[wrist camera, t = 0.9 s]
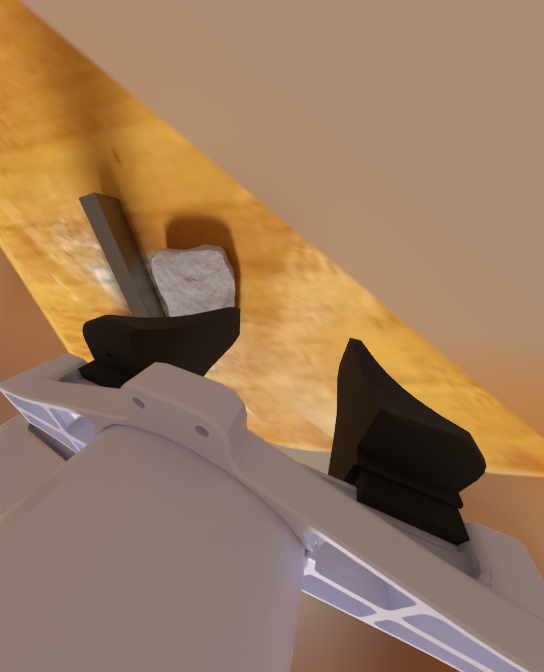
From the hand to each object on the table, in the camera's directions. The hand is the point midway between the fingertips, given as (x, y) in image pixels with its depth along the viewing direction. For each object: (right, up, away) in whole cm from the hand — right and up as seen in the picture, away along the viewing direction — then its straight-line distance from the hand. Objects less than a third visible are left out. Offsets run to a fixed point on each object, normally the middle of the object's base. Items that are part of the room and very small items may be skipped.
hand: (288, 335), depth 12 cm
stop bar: (-20, +9, +16) cm, 27 cm away
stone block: (-10, +7, +15) cm, 20 cm away
